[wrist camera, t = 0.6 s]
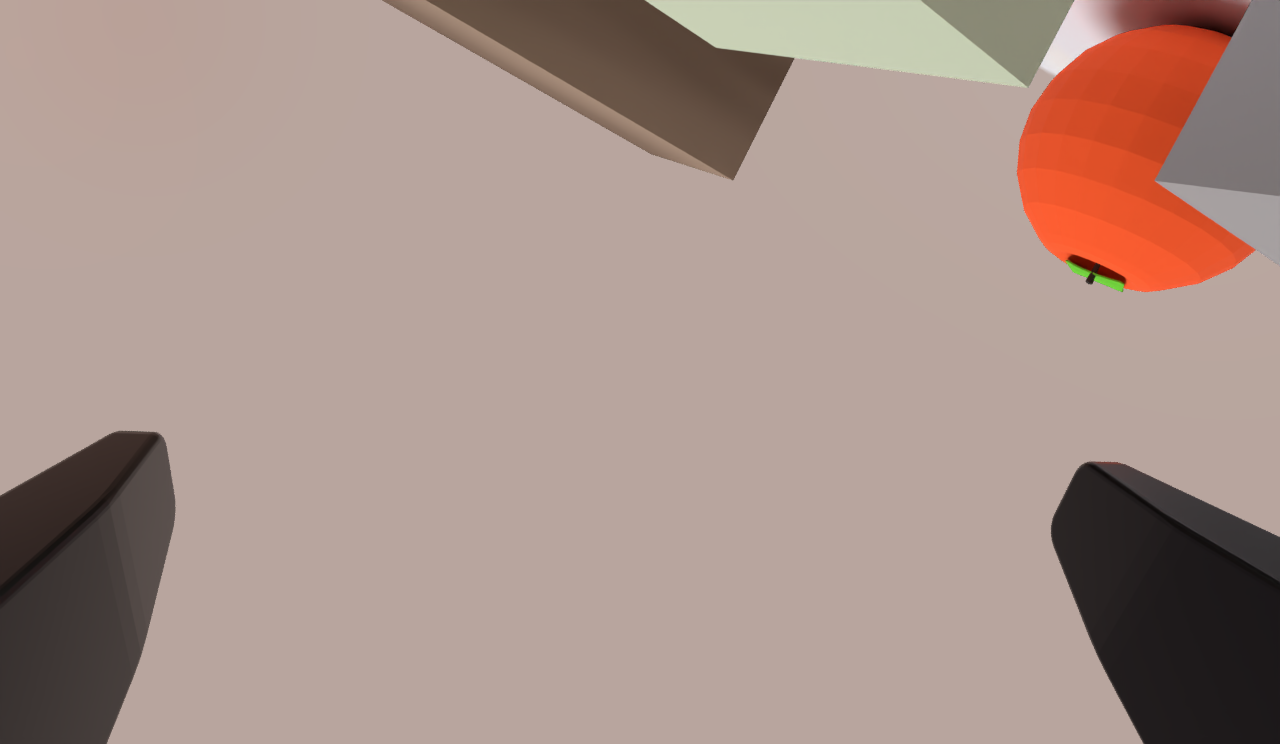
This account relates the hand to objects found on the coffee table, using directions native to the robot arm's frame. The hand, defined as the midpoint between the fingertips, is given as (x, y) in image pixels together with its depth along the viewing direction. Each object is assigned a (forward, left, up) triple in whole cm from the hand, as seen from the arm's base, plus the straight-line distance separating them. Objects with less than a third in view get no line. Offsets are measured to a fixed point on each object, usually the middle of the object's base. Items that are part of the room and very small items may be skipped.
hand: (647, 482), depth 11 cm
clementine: (+15, +16, -14) cm, 26 cm away
